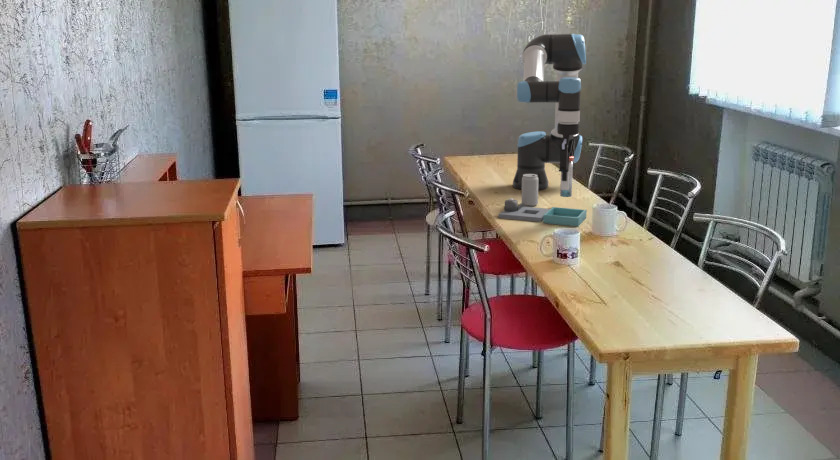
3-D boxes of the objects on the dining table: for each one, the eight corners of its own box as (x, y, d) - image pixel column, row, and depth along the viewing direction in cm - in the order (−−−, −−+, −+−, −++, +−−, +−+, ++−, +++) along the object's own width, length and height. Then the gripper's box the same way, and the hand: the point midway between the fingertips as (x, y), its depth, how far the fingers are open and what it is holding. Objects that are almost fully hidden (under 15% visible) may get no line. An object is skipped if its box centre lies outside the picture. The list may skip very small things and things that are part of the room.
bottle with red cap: (561, 193, 285) (562, 155, 281) (573, 194, 283) (575, 155, 279) (557, 196, 281) (559, 157, 277) (570, 197, 279) (572, 158, 275)
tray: (552, 214, 293) (552, 206, 292) (586, 217, 288) (586, 209, 287) (543, 223, 282) (543, 214, 281) (578, 226, 277) (578, 218, 276)
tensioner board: (509, 209, 302) (510, 194, 300) (551, 212, 296) (551, 197, 294) (498, 217, 290) (498, 202, 288) (541, 221, 283) (541, 206, 282)
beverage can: (537, 207, 304) (538, 176, 301) (520, 206, 305) (521, 176, 302) (538, 203, 310) (539, 173, 307) (521, 202, 311) (522, 173, 308)
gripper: (563, 119, 284) (561, 182, 290) (551, 125, 269) (549, 192, 275) (584, 120, 281) (582, 184, 287) (573, 126, 266) (570, 194, 272)
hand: (566, 188), depth 281 cm, fingers closed on bottle with red cap, 4 cm apart
